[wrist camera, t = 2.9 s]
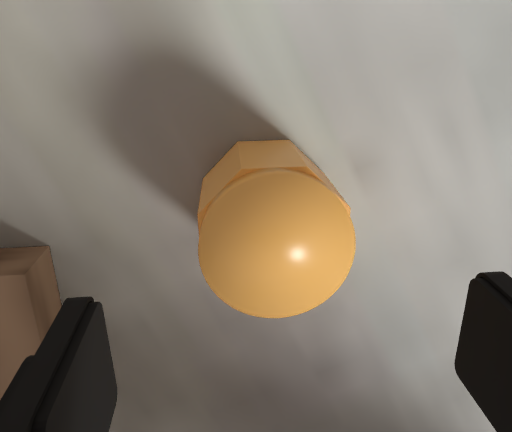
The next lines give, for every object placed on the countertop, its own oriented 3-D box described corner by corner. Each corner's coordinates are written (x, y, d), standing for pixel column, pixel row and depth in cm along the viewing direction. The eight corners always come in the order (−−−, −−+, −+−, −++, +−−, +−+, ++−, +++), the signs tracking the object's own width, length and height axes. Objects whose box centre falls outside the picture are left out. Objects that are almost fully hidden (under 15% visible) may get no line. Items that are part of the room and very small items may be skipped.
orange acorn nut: (325, 138, 22) (360, 171, 16) (321, 250, 24) (351, 314, 18) (200, 142, 21) (192, 178, 16) (208, 255, 23) (203, 322, 18)
